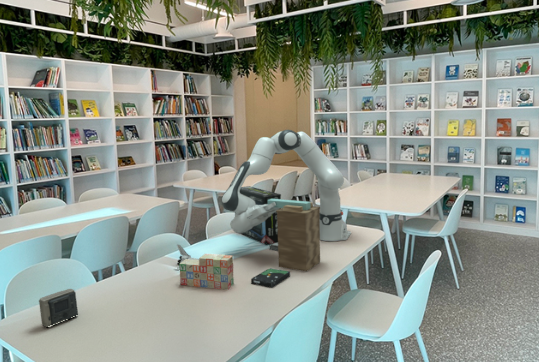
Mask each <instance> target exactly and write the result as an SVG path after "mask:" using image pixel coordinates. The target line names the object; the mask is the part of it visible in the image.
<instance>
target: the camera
mask: <svg viewBox="0 0 539 362" xmlns="http://www.w3.org/2000/svg"><path fill="white" fill-rule="evenodd" d="M38 304H39V312H40V319H41V325H42V326H43V325H44V326H43V327H45V326H46V327H48V326H50V325H53V324H56V323H58V322H61V321H63V320H66V319H69V318H71V317H73V316H76V315H78V316H79V312H78V303H77V295H76V291H75V289H72V288H67V289H63V290H60V291H57V292H55V293H52V294H48V295H46V296H43V297H40V298H39V300H38ZM46 327H45V328H46Z"/></svg>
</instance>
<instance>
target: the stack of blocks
mask: <svg viewBox="0 0 539 362" xmlns="http://www.w3.org/2000/svg"><path fill="white" fill-rule="evenodd" d="M233 258H234V256H233V255H230V254H229V255H227V254H217V253H204V254H203V255H202V256H200V257H198V259H199V260H192V259H185V260H184V261H183V262H181V263H180V264H179V265H178V266H179V269H180V271H179V279H180V280H179V281H180V285H181V286H191V287H197V288H198V287H199V288H209V289H218V290H219V289H220V290H229V289H230V288H232V286H234V282H235V281H234V280H235V279H234V278H235V277H234V259H233Z"/></svg>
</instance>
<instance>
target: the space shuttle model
mask: <svg viewBox="0 0 539 362" xmlns="http://www.w3.org/2000/svg"><path fill="white" fill-rule="evenodd" d="M176 246H177V248H178V252H179V253H180V256H179V257H178V258H179V259H177V263H176V264H177V269H176V270H175V271H179V270H180V269H179V264H180V263H181V262H183V261H184V260H185V259H192V260H199V258H197V257H196V258H195V257H192V256H191V255H190V254H189V253H188V252H187V251H186V250H185V249H184V248H183V246H181V245H180V244H176Z"/></svg>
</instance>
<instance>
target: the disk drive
mask: <svg viewBox="0 0 539 362" xmlns="http://www.w3.org/2000/svg"><path fill="white" fill-rule="evenodd" d="M290 277H291V271H289V270H284V269H277V268H272V267H270V268H267V269H265V270H264V271H262V272H260V273H259V274H257V275H255V276H253V277H252V278H250V283H251V284H250V285H255V286H260V287H264V288H270V289H274V288H275V287H277V285H279V284H280V283H283V282H284V281H285V280H287V279H289V278H290Z"/></svg>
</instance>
